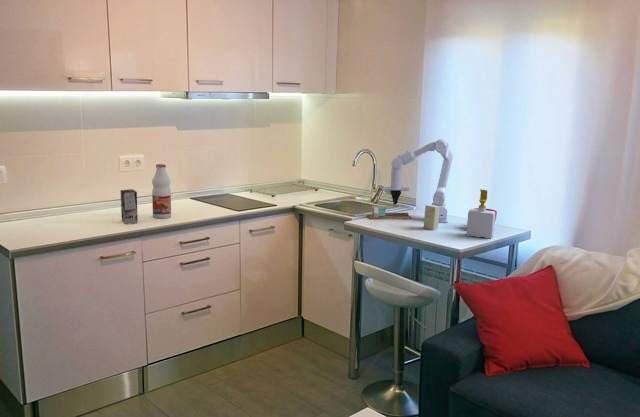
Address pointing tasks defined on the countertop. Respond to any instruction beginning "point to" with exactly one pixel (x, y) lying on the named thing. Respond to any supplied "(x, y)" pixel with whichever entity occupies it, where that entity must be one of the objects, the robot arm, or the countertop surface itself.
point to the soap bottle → (481, 219)
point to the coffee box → (129, 206)
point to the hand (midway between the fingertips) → (395, 203)
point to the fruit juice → (161, 193)
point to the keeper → (381, 210)
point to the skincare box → (431, 217)
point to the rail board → (387, 215)
